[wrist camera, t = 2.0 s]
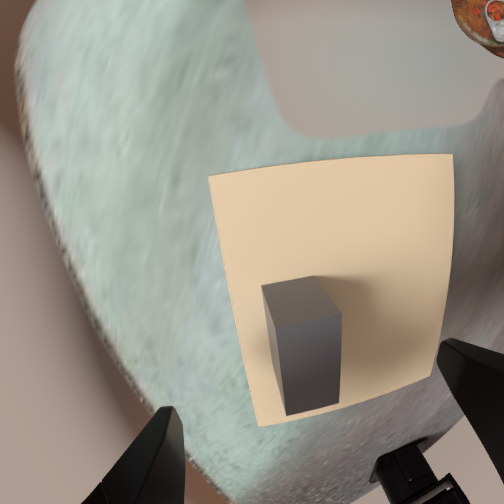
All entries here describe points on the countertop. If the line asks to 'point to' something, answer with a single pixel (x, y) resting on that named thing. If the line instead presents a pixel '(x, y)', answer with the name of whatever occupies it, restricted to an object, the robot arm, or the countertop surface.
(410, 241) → the carton lid
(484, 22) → the tin
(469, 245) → the countertop surface
